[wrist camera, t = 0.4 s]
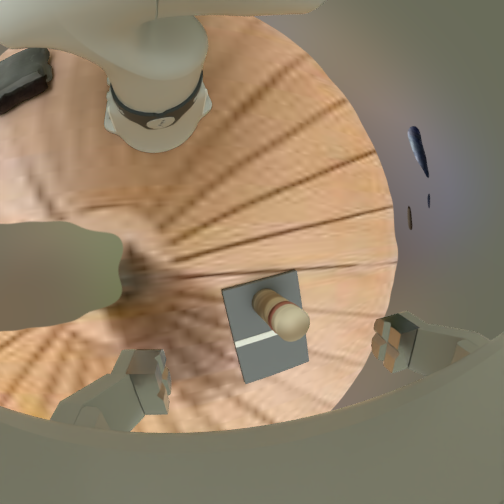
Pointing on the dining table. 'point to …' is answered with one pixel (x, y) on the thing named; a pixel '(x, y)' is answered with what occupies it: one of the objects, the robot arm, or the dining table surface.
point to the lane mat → (263, 329)
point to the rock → (23, 76)
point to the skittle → (281, 315)
